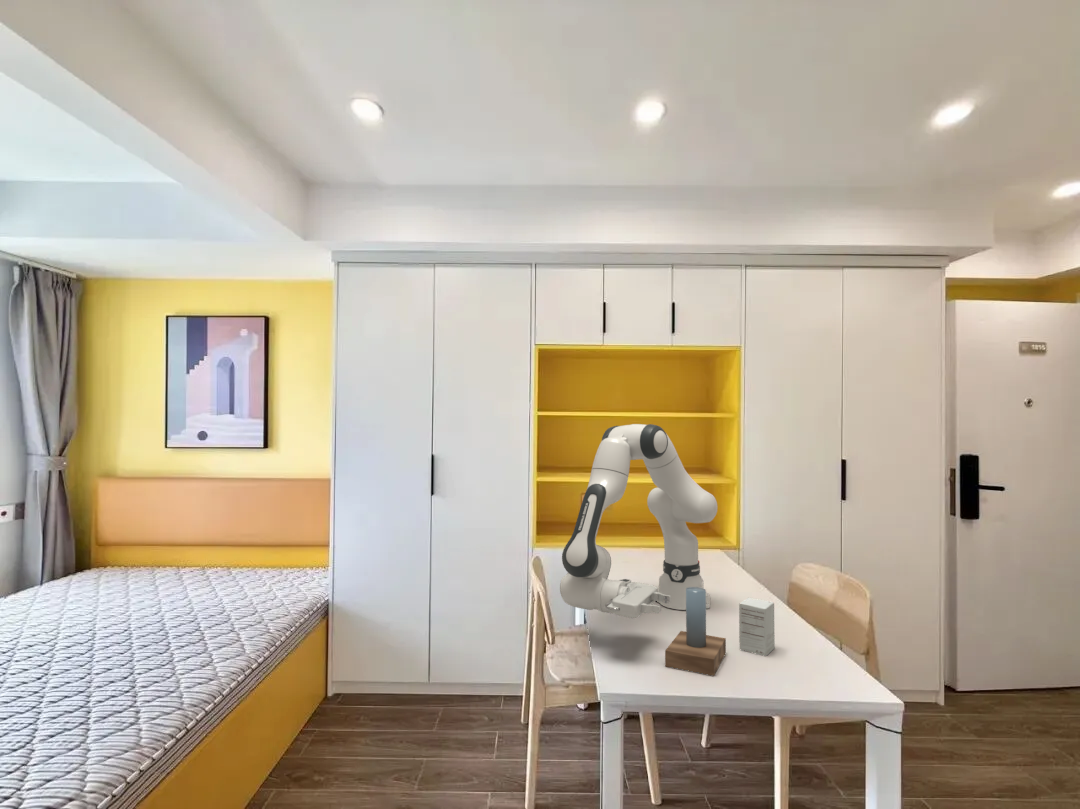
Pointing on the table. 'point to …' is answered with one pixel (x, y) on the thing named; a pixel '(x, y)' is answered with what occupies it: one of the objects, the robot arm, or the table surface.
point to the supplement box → (756, 626)
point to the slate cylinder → (696, 617)
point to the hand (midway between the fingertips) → (665, 604)
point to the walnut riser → (696, 654)
